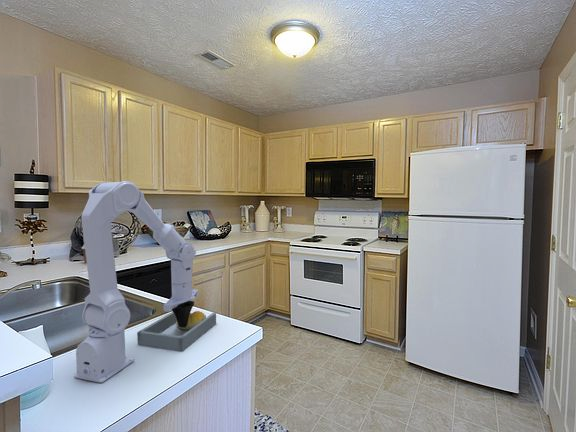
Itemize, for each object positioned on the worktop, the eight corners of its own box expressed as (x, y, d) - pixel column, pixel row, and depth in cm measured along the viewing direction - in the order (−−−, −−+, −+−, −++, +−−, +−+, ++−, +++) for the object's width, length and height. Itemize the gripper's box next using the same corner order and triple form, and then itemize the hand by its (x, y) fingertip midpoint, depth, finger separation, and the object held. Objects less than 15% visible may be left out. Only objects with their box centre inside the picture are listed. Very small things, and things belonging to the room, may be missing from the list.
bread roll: (178, 320, 98) (178, 308, 98) (207, 319, 100) (206, 307, 100) (173, 332, 90) (173, 318, 90) (204, 329, 92) (204, 316, 92)
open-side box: (182, 351, 79) (182, 338, 78) (137, 344, 82) (137, 332, 82) (216, 323, 96) (216, 312, 96) (177, 319, 100) (177, 308, 99)
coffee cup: (86, 265, 178) (85, 245, 177) (79, 263, 183) (78, 244, 182) (102, 262, 186) (102, 243, 185) (95, 261, 191) (94, 242, 190)
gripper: (178, 290, 82) (179, 339, 82) (206, 276, 96) (207, 318, 96) (156, 288, 83) (157, 336, 84) (187, 275, 97) (188, 316, 98)
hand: (182, 326), depth 90 cm, fingers closed
